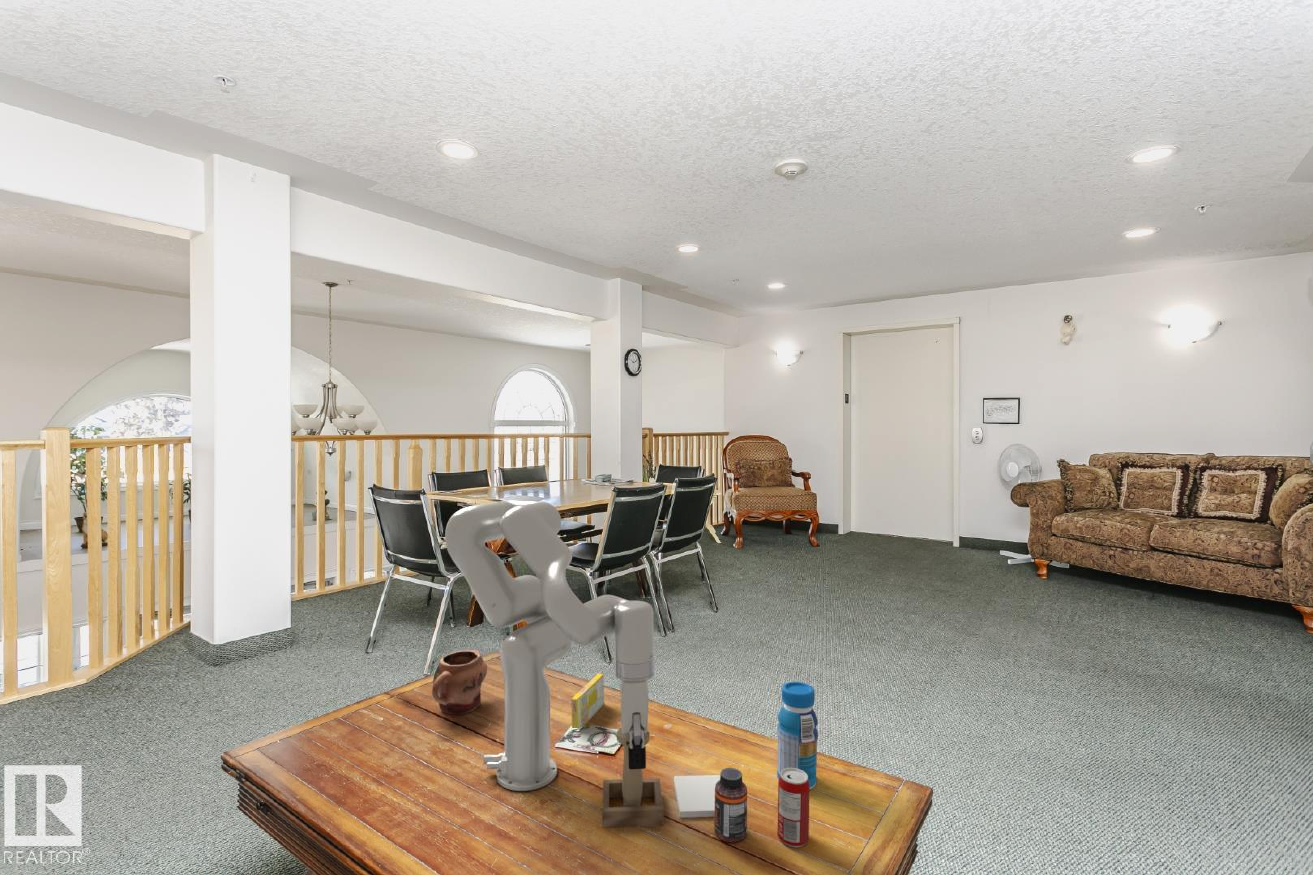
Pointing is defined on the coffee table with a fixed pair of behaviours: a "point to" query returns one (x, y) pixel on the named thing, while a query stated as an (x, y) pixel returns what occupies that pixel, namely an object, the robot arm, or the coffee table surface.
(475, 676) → the brown clay mug
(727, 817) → the supplement bottle
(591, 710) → the candy box
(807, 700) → the beverage bottle
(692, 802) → the plate
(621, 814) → the socket frame
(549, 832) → the coffee table surface
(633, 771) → the handle
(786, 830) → the soda can
